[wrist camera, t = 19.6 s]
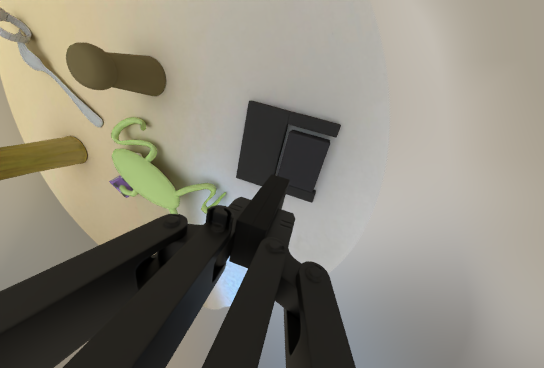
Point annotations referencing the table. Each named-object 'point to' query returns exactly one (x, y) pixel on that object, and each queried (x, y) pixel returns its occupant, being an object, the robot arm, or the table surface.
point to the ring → (2, 15)
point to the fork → (38, 66)
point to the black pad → (273, 142)
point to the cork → (115, 70)
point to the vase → (40, 156)
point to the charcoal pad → (303, 159)
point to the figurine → (148, 174)
